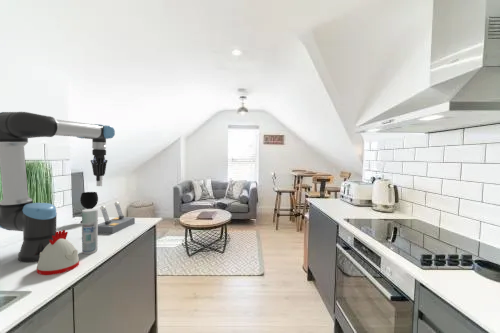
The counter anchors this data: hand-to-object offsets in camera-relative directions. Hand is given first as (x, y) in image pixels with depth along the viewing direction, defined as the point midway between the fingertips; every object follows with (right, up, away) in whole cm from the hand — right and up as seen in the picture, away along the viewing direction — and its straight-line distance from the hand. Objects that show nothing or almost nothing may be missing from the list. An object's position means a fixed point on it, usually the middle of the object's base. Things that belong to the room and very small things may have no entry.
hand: (99, 186), depth 165 cm
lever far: (+11, -22, +7) cm, 26 cm away
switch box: (+10, -27, 0) cm, 29 cm away
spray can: (+20, -28, -41) cm, 54 cm away
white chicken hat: (+18, -29, -59) cm, 68 cm away
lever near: (+10, -23, -7) cm, 26 cm away
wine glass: (-15, -26, +14) cm, 33 cm away
